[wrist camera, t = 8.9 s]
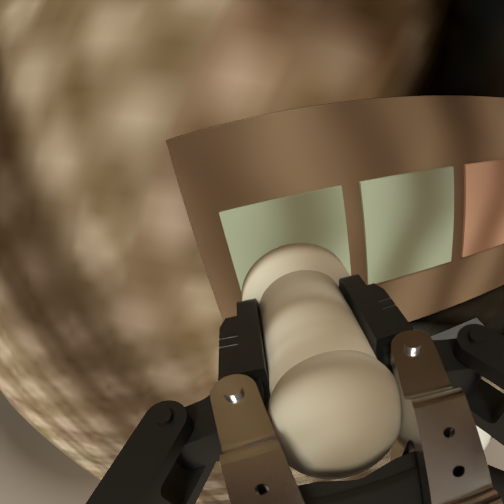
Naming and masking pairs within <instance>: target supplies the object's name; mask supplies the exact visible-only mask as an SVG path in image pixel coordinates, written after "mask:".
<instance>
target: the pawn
mask: <svg viewBox="0 0 504 504" xmlns="http://www.w3.org/2000/svg"><path fill="white" fill-rule="evenodd" d="M348 276H350V274H349V273H348V271H347V270H346V268H345V267H344V265H343V264H342V262H341V261H340V259H339V258H338V257H337V256H336V255H335V254H334V253H332V252H331V251H330V250H328V249H326V248H324V247H321V246H319V245H315V244H311V243H292V244H287V245H283V246H280V247H278V248H275V249H273V250H271V251H269V252H268V253H266V254H265V255H263V256H262V257H261V258H259V259H258V260H257V261H256V262H255V263H254V264H253V266H252V267H251V268H250V270H249V271H248V273H247V275H246V277H245V279H244V282H243V286H242V301H245V300H249V299H254V298H256V300H257V304H258V307H259V314H260V321H261V328H262V335H263V342H264V349H265V356H266V363H267V370H268V377H269V389H270V399H269V403H268V407H267V414H268V416H269V419H270V421H271V424H272V426H273V429H274V431H275V434H276V436H277V438H278V440H279V443H280V445H281V448H282V450H283V453H284V455H285V458H286V460H287V462H288V465H289V466H290V467H292V468H293V469H295V470H297V471H298V472H300V473H302V474H305V475H308V476H310V477H315V478H320V479H341V478H346V477H350V476H353V475H356V474H359V473H361V472H363V471H365V470H367V469H369V468H370V467H372V466H373V465H375V464H376V463H377V462H379V461H380V460H381V459H382V458H383V457H384V456H385V455H386V454H387V453H388V451H389V450H390V449H391V447H392V446H393V444H394V443H395V441H396V439H397V437H398V435H399V432H400V427H401V420H402V409H401V402H400V394H399V389H398V385H397V382H396V379H395V377H394V375H393V374H392V373H391V371H390V370H389V369H388V368H387V367H386V366H385V365H384V364H382V363H381V362H380V361H379V360H377V358H376V356H375V354H374V352H373V350H372V348H371V346H370V344H369V342H368V340H367V338H366V337H365V335H364V333H363V331H362V329H361V327H360V325H359V323H358V322H357V320H356V318H355V316H354V314H353V312H352V310H351V309H350V307H349V305H348V303H347V301H346V300H345V298H344V296H343V294H342V292H341V291H340V289H339V279H340V278H344V277H348Z"/></svg>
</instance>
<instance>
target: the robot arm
mask: <svg viewBox="0 0 504 504" xmlns="http://www.w3.org/2000/svg"><path fill="white" fill-rule="evenodd" d="M339 289H340V291H341V292H342V294H343V296H344V298H345V300H346V301H347V303H348V305H349V307H350V309H351V310H352V312H353V314H354V316H355V318H356V320H357V322H358V323H359V325H360V327H361V329H362V331H363V333H364V335H365V337H366V338H367V340H368V342H369V344H370V346H371V348H372V350H373V352H374V354H375V356H376V358H377V360H379V361H380V362H381V363H382V364H384V365H385V366H386V367H387V368H388V369H389V370H390V371H391V373H392V374H393V375H394V377H395V379H396V382H397V385H398V389H399V394H400V402H401V409H402V420H401V427H400V432H399V435H398V437H397V439H396V441H395V443H394V444H393V446H392V447H391V461H390V462H389V463H387V464H386V465H384V466H383V467H381V468H379V469H378V470H376V471H374V472H373V473H371V474H369V475H367V476H366V477H364V478H362V479H359V480H351V481H329V482H315V483H310V484H305V485H300V486H297V484H296V481H295V479H294V477H293V474H292V472H291V470H290V467H289V465H288V462H287V460H286V458H285V455H284V453H283V450H282V448H281V445H280V443H279V440H278V438H277V436H276V434H275V431H274V429H273V426H272V424H271V421H270V419H269V416H268V414H267V407H268V403H269V399H270V389H269V377H268V370H267V363H266V356H265V349H264V342H263V335H262V328H261V321H260V314H259V307H258V304H257V300H256V298H254V299H249V300H245V301H240V302H237V303H236V305H237V316H234V317H229V318H225V320H224V322H223V323H222V325H221V327H220V336H219V338H220V340H219V348H220V349H219V376H218V382H216V383H215V385H214V386H213V387H212V389H211V392H210V395H209V396H208V397H207V398H205V399H203V400H201V401H199V402H197V403H194V404H192V405H189V406H186V407H184V406H183V405H182V404H180V403H178V402H176V401H162V402H159V403H157V404H155V405H154V406H152V407H151V408H150V409H149V410H148V411H147V412H146V414H145V415H144V417H143V418H142V420H141V421H140V423H139V424H138V426H137V427H136V429H135V430H134V432H133V433H132V435H131V436H130V438H129V439H128V441H127V442H126V444H125V445H124V447H123V449H122V450H121V452H120V453H119V455H118V456H117V458H116V459H115V461H114V462H113V464H112V465H111V467H110V468H109V470H108V471H107V473H106V474H105V476H104V477H103V479H102V480H101V482H100V483H99V485H98V486H97V488H96V489H95V491H94V492H93V494H92V495H91V497H90V498H89V500H88V501H87V503H86V504H195V503H196V501H197V499H198V497H199V495H200V493H201V491H202V489H203V487H204V485H205V483H206V481H207V479H208V477H209V475H210V473H211V471H212V469H213V467H214V464H215V462H216V461H219V460H220V463H221V467H222V471H223V475H224V479H225V483H226V487H227V491H228V494H229V498H230V502H231V504H504V471H503V470H500V469H497V468H495V467H492V466H490V465H487V461H486V457H485V454H484V450H483V447H482V444H481V440H480V437H479V434H478V431H477V427H476V426H478V427H479V428H481V429H482V430H483V431H485V432H486V433H487V434H489V435H490V436H492V437H493V438H495V439H496V440H497V441H498V442H500V443H501V444H503V445H504V394H503V393H502V392H500V391H499V390H497V389H496V388H494V387H493V386H491V385H490V384H488V383H486V382H485V381H483V380H482V379H481V377H482V376H483V377H485V378H486V379H488V380H489V381H491V382H493V383H494V384H496V385H497V386H499V387H500V388H502V389H503V390H504V337H503V336H502V335H500V334H498V333H496V332H494V331H493V330H491V329H489V328H487V327H485V326H483V325H480V324H469V325H466V326H464V327H462V328H461V329H460V330H459V332H458V334H457V338H454V339H444V340H432V338H431V337H430V336H429V335H428V334H426V333H425V332H422V331H419V330H414V329H413V328H412V326H411V325H410V323H409V322H408V321H407V319H406V318H405V316H404V315H403V314H402V312H401V311H400V310H399V308H398V307H397V306H396V305H395V303H394V302H393V300H392V299H391V298H390V296H389V295H388V293H387V292H386V291H385V290H384V289H383V288H381V287H380V286H378V285H376V284H374V283H373V284H369V285H366V284H365V282H364V281H363V279H362V278H361V277H360V275H359V274H356V275H352V276H348V277H344V278H340V279H339Z"/></svg>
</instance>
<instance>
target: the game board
mask: <svg viewBox="0 0 504 504" xmlns="http://www.w3.org/2000/svg"><path fill="white" fill-rule="evenodd" d="M166 142H167V146H168V149H169V153H170V156H171V160H172V163H173V167H174V170H175V174H176V177H177V181H178V184H179V187H180V191H181V194H182V197H183V201H184V204H185V207H186V210H187V214H188V217H189V220H190V223H191V226H192V230H193V233H194V236H195V239H196V242H197V245H198V248H199V251H200V254H201V257H202V260H203V263H204V266H205V269H206V272H207V275H208V278H209V281H210V284H211V287H212V290H213V293H214V296H215V299H216V301H217V304H218V307H219V310H220V313H221V316H222V318H223V321H224V320H225V318H229V317H234V316H237V305H236V303H237V302H240V301H242V286H243V282H244V279H245V277H246V275H247V273H248V271H249V270H250V268H251V267H252V266H253V264H254V263H255V262H256V261H257V260H258V259H259V258H261V257H262V256H263V255H265V254H266V253H268V252H269V251H271V250H273V249H275V248H278V247H280V246H283V245H287V244H292V243H311V244H315V245H319V246H321V247H324V248H326V249H328V250H330V251H331V252H332V253H334V254H335V255H336V256H337V257H338V258H339V259H340V261H341V262H342V264H343V265H344V267H345V268H346V270H347V271H348V273H349V274H350V276H352V275H356V274H359V275H360V277H361V278H362V279H363V281H364V282H365V284H366V285H369V284H373V283H374V284H376V285H378V286H380V287H381V288H383V289H384V290H385V291H386V292H387V293H388V295H389V296H390V298H391V299H392V300H393V302H394V303H395V305H396V306H397V307H398V308H399V310H400V311H401V312H402V314H403V315H404V316H405V318H406V319H407V321H408V322H410V321H413V320H416V319H419V318H422V317H425V316H427V315H430V314H433V313H436V312H438V311H441V310H444V309H446V308H449V307H452V306H454V305H457V304H459V303H462V302H464V301H467V300H469V299H472V298H474V297H477V296H479V295H481V294H484V293H486V292H488V291H491V290H493V289H495V288H497V287H500V286H502V285H504V98H500V97H485V96H454V95H437V96H405V97H388V98H375V99H364V100H355V101H346V102H338V103H330V104H323V105H316V106H310V107H303V108H297V109H292V110H286V111H281V112H275V113H270V114H265V115H260V116H256V117H251V118H247V119H242V120H238V121H234V122H230V123H225V124H221V125H217V126H214V127H210V128H206V129H202V130H199V131H195V132H192V133H188V134H185V135H181V136H178V137H175V138H171V139H169V140H166Z"/></svg>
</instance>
